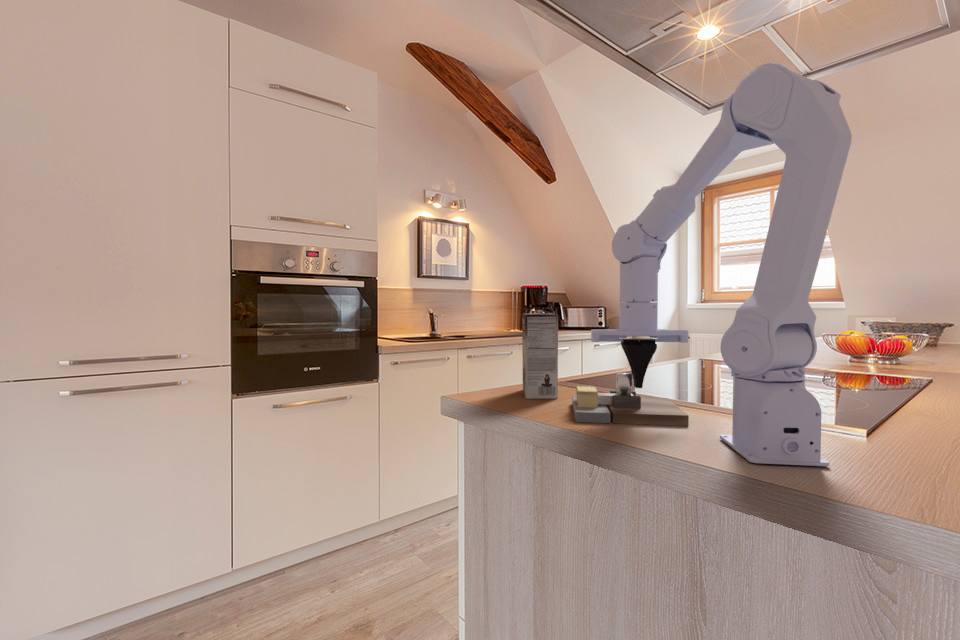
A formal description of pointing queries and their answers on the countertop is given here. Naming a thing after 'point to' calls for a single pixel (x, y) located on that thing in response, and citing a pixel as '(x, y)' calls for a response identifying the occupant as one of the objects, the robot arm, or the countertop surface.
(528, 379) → the coffee box
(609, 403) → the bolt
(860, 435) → the countertop surface
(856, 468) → the countertop surface
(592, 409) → the jamb keeper
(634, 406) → the door panel
